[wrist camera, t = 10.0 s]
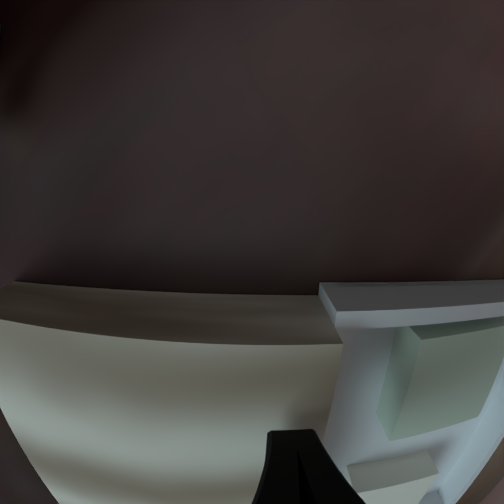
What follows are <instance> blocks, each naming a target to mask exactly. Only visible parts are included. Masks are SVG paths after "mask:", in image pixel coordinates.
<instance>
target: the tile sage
mask: <svg viewBox="0 0 504 504" xmlns="http://www.w3.org/2000/svg"><path fill="white" fill-rule="evenodd" d="M503 358H504V316H500V317H492V318H485V319H476V320H468V321H459V322H449V323H439V324H428V325H415V326H402V327H396V330H395V335H394V340H393V345H392V349H391V354H390V358H389V363H388V367H387V371H386V375H385V379H384V383H383V387H382V391H381V394H380V398H379V401H378V405H377V408H376V414H377V416H378V418H379V420H380V422H381V425H382V427H383V429H384V431H385V433H386V435H387V437H388V439H389V441H394V440H398V439H403V438H407V437H411V436H415V435H419V434H423V433H427V432H431V431H434V430H438V429H441V428H445V427H448V426H452V425H455V424H458V423H461V422H464V421H467V420H470V419H473V418H476V417H479V415H480V412H481V410H482V408H483V406H484V404H485V402H486V400H487V397H488V395H489V393H490V391H491V388H492V386H493V383H494V381H495V379H496V376H497V374H498V371H499V369H500V366H501V363H502V361H503Z"/></svg>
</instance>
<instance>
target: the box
mask: <svg viewBox="0 0 504 504" xmlns="http://www.w3.org/2000/svg"><path fill="white" fill-rule="evenodd" d="M318 296H319V298H320V299H321V301H322V303H323V305H324V307H325V309H326V311H327V313H328V315H329V317H330V319H331V321H332V323H333V325H334V327H335V328H336V330H337V332H338V334H339V336H340V338H341V340H342V342H343V348H342V354H341V359H340V365H339V370H338V375H337V380H336V385H335V390H334V395H333V400H332V404H331V409H330V413H329V418H328V422H327V426H326V430H325V434H324V438H323V442H322V444H323V446H324V448H325V449H326V451H327V453H328V454H329V456H330V457H331V459H332V460H333V462H334V463H335V465H336V466H337V468H338V469H339V471H340V472H341V473H342V475H343V473H344V470H345V468H346V466H347V465H354V464H361V463H367V462H373V461H379V460H384V459H389V458H394V457H399V456H403V455H408V454H412V453H416V452H420V451H424V450H427V451H428V453H429V455H430V457H431V459H432V461H433V462H434V464H435V466H436V468H437V470H438V472H439V474H438V476H437V477H436V479H435V480H434V482H433V483H432V485H431V486H430V488H429V489H428V491H427V492H426V493H425V495H424V496H423V498H422V499H421V500H420V502H419V503H418V504H456V502H457V501H458V500H459V499H460V498H461V496H462V495H463V494H464V493H465V491H466V490H467V489H468V488H469V486H470V485H471V484H472V482H473V481H474V480H475V478H476V477H477V476H478V474H479V473H480V472H481V470H482V469H483V467H484V466H485V464H486V463H487V462H488V460H489V459H490V457H491V456H492V454H493V453H494V451H495V450H496V448H497V446H498V445H499V443H500V442H501V440H502V438H503V437H504V358H503V361H502V363H501V366H500V369H499V371H498V374H497V376H496V379H495V381H494V383H493V386H492V388H491V391H490V393H489V395H488V397H487V400H486V402H485V404H484V406H483V408H482V410H481V412H480V415H479V417H476V418H473V419H470V420H467V421H464V422H461V423H458V424H455V425H452V426H448V427H445V428H441V429H438V430H434V431H431V432H427V433H423V434H419V435H415V436H411V437H407V438H403V439H398V440H394V441H389V439H388V437H387V435H386V433H385V431H384V429H383V427H382V425H381V422H380V420H379V418H378V416H377V414H376V408H377V405H378V401H379V398H380V394H381V391H382V387H383V383H384V379H385V375H386V371H387V367H388V363H389V358H390V354H391V349H392V345H393V340H394V335H395V330H396V327H402V326H415V325H428V324H439V323H449V322H459V321H468V320H476V319H485V318H492V317H500V316H504V279H499V280H470V281H430V282H320V283H319V293H318Z"/></svg>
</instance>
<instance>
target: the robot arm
mask: <svg viewBox="0 0 504 504" xmlns="http://www.w3.org/2000/svg"><path fill="white" fill-rule="evenodd" d="M251 504H366V503H365V502H364V501H363V499H362V498H361V497H360V496H359V495H358V494H357V493H356V491H355V490H354V489H353V488H352V486H351V485H350V484H349V483H348V481H347V480H346V479H345V477H344V476H343V475H342V473H341V472H340V471H339V469H338V468H337V466H336V465H335V463H334V462H333V460H332V459H331V457H330V456H329V454H328V453H327V451H326V449H325V448H324V446H323V444H322V442H321V441H320V439H319V437H318V435H317V433H316V431H315V430H313V429H299V430H271V431H270V432H268V433H267V441H266V454H265V463H264V467H263V471H262V474H261V478H260V481H259V485H258V488H257V491H256V493H255V496H254V498H253V501H252V503H251Z"/></svg>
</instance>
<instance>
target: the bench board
mask: <svg viewBox="0 0 504 504" xmlns="http://www.w3.org/2000/svg"><path fill="white" fill-rule="evenodd" d="M342 348H343V342H342V340H341V338H340V336H339V334H338V332H337V330H336V328H335V327H334V325H333V323H332V321H331V319H330V317H329V315H328V313H327V311H326V309H325V307H324V305H323V303H322V301H321V299H320V298H319V296H318V295H245V294H207V293H179V292H157V291H137V290H119V289H103V288H88V287H75V286H62V285H50V284H38V283H27V282H17V281H13V282H12V283H10V284H8V285H7V286H5V287H3V288H1V289H0V408H1V410H2V412H3V414H4V416H5V418H6V420H7V422H8V424H9V426H10V428H11V429H12V431H13V433H14V435H15V437H16V439H17V440H18V442H19V444H20V446H21V447H22V449H23V451H24V452H25V454H26V456H27V457H28V459H29V461H30V462H31V464H32V465H33V467H34V468H35V470H36V472H37V473H38V475H39V476H40V478H41V479H42V480H43V482H44V483H45V485H46V486H47V488H48V489H49V490H50V492H51V493H52V495H53V496H54V497H55V499H56V500H57V501H58V503H59V504H251V503H252V501H253V498H254V496H255V493H256V491H257V488H258V485H259V481H260V478H261V474H262V471H263V467H264V463H265V454H266V441H267V433H268V432H270V431H271V430H299V429H313V430H315V431H316V433H317V435H318V437H319V439H320V441H321V442H323V438H324V434H325V430H326V426H327V422H328V418H329V413H330V409H331V404H332V400H333V395H334V390H335V385H336V380H337V375H338V370H339V365H340V359H341V354H342Z"/></svg>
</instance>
